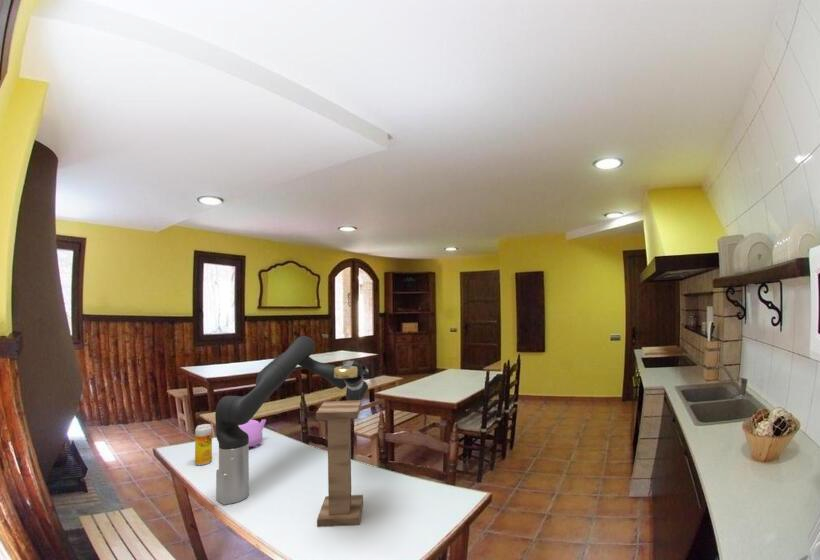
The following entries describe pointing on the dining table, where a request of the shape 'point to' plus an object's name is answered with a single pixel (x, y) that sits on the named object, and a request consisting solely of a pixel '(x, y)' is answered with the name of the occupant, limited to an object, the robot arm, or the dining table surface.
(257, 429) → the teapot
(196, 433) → the beer can
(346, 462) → the wooden stand
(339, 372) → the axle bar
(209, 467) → the dining table surface
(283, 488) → the dining table surface
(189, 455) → the dining table surface
